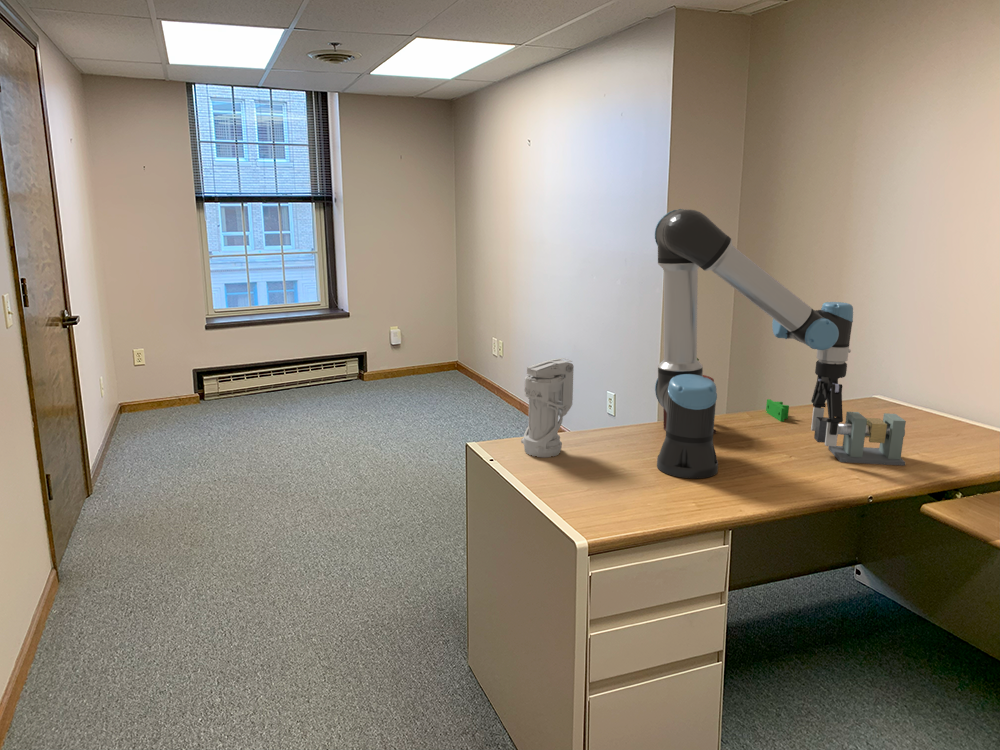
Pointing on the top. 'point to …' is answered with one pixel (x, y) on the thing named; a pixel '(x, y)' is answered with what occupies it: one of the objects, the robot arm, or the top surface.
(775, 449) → the top surface
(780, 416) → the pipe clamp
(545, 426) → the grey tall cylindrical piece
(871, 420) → the spacer
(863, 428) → the bearing stand
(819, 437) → the shaft
